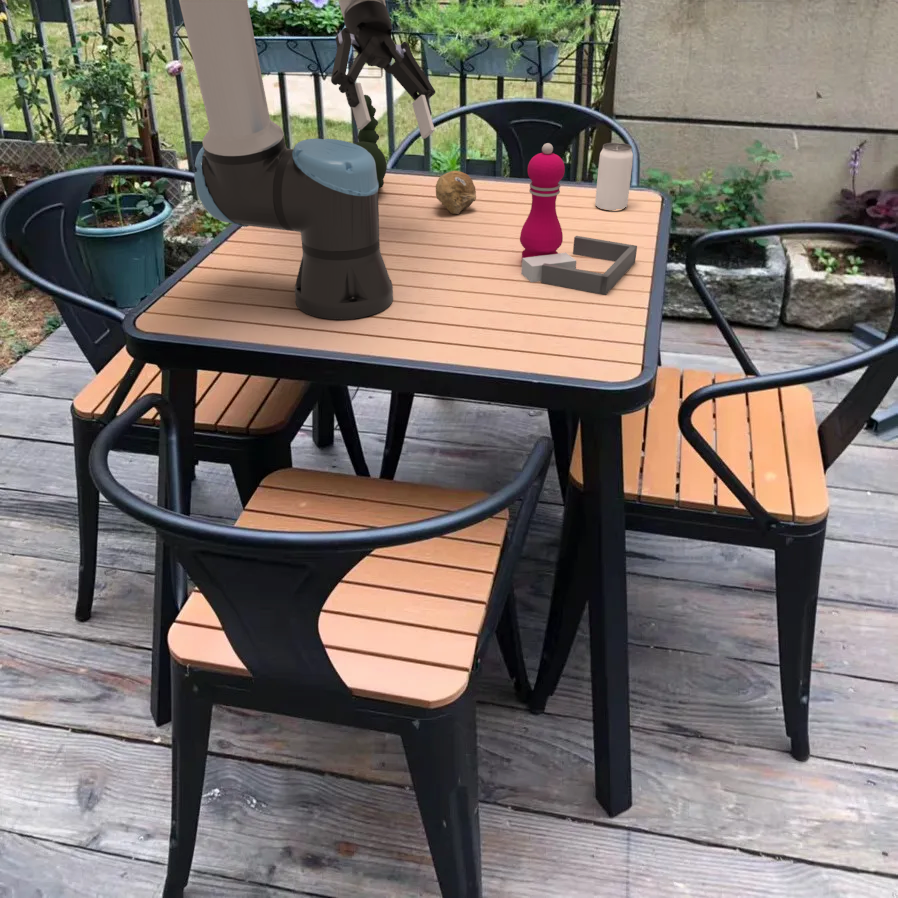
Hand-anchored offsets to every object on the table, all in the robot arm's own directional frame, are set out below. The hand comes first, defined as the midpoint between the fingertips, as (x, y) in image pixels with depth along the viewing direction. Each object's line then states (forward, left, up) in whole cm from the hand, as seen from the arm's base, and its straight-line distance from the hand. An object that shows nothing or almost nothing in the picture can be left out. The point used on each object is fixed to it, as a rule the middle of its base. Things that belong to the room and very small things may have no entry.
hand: (397, 130), depth 143 cm
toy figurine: (+29, +25, -21) cm, 43 cm away
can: (+42, -25, -21) cm, 53 cm away
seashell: (+27, +3, -21) cm, 34 cm away
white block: (+1, -28, -21) cm, 35 cm away
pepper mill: (+6, -24, -21) cm, 32 cm away
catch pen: (+6, -33, -21) cm, 40 cm away
